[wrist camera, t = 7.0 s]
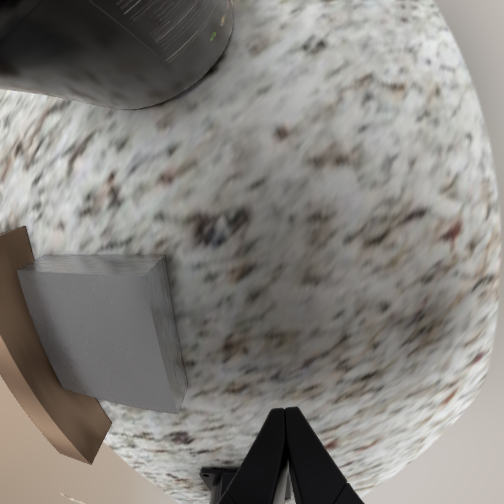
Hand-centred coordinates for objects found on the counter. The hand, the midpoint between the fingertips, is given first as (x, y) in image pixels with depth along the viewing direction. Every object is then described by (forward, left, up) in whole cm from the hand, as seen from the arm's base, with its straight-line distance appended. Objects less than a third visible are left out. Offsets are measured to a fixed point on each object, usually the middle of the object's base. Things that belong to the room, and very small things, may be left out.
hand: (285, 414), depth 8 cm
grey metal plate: (+1, +8, -5) cm, 9 cm away
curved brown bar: (0, +14, -4) cm, 14 cm away
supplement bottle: (+13, +4, -4) cm, 15 cm away
